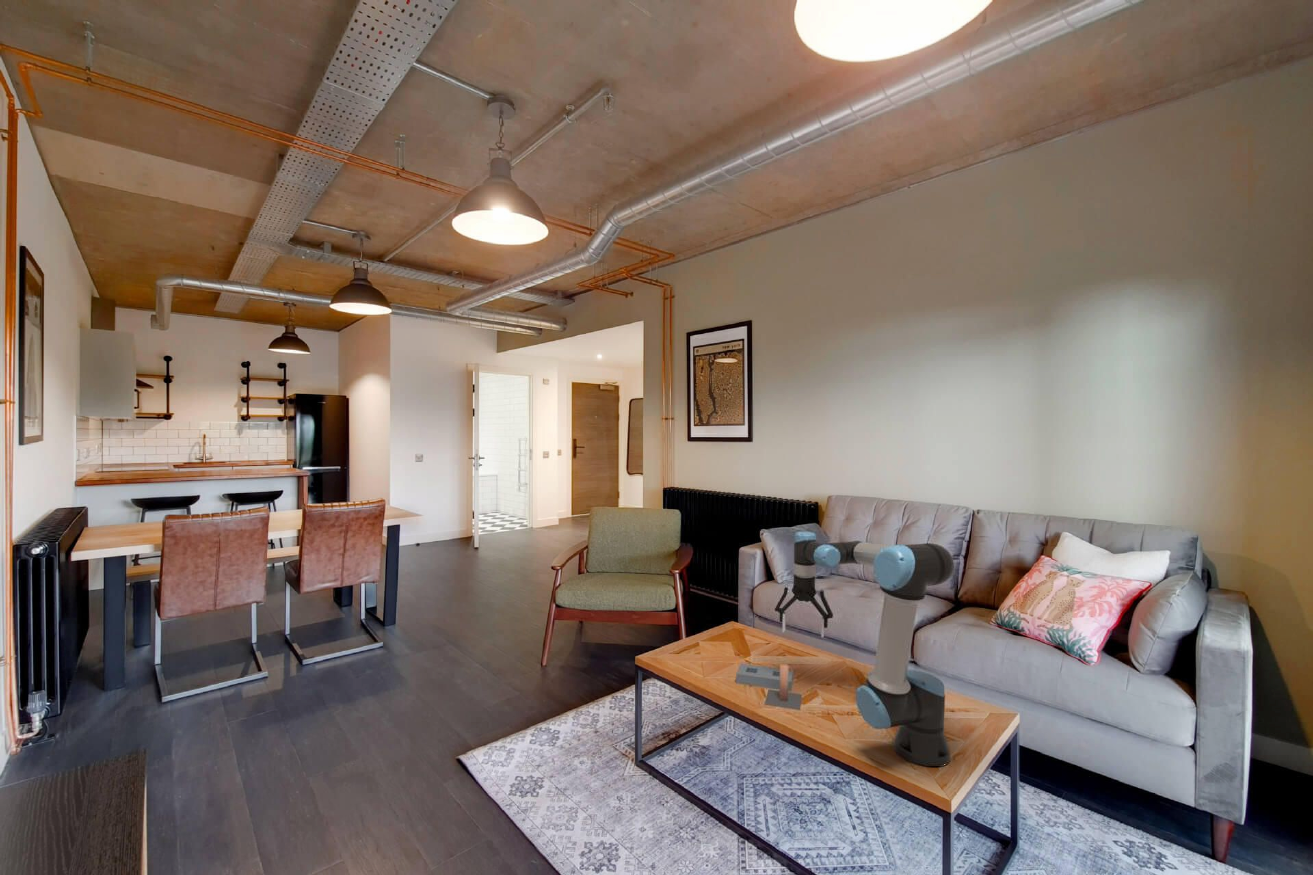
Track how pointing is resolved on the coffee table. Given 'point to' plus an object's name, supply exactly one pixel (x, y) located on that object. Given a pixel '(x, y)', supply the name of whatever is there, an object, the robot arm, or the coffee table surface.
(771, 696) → the mat
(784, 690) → the peg
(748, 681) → the hole block
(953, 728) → the coffee table surface
